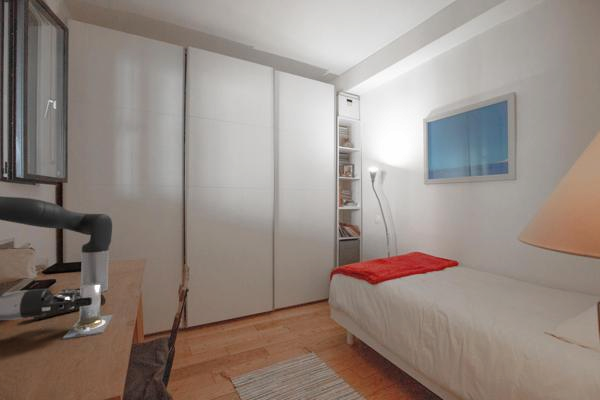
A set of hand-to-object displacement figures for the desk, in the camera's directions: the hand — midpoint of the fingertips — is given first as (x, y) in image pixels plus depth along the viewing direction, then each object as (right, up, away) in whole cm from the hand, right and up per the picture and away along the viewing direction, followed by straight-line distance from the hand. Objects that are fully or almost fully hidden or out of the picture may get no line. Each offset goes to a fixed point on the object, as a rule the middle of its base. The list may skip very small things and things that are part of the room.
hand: (95, 296), depth 81 cm
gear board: (-1, -9, -1) cm, 9 cm away
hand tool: (-17, -10, +11) cm, 22 cm away
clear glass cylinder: (-1, -8, -1) cm, 9 cm away
